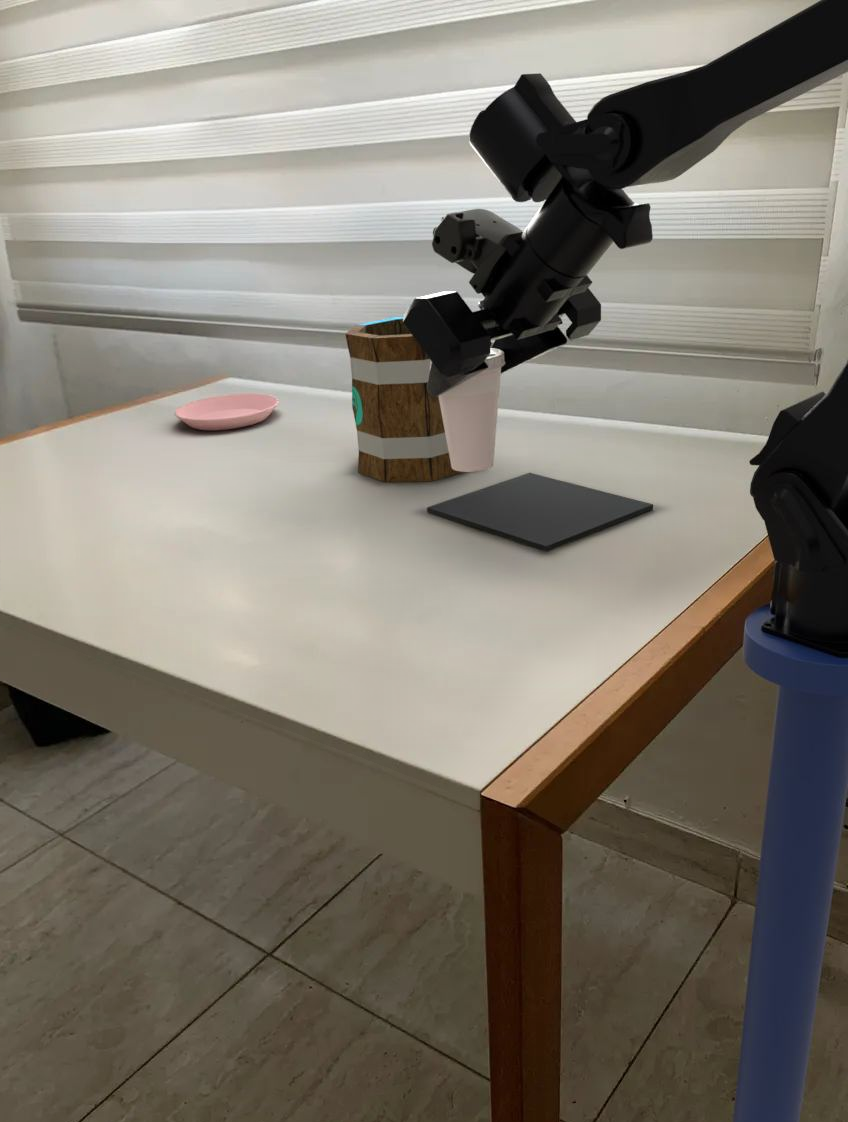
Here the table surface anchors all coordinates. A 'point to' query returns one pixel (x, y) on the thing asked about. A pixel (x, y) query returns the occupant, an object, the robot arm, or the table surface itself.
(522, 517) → the mat
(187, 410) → the plate
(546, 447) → the table surface
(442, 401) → the smoothie
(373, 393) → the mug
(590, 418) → the table surface
